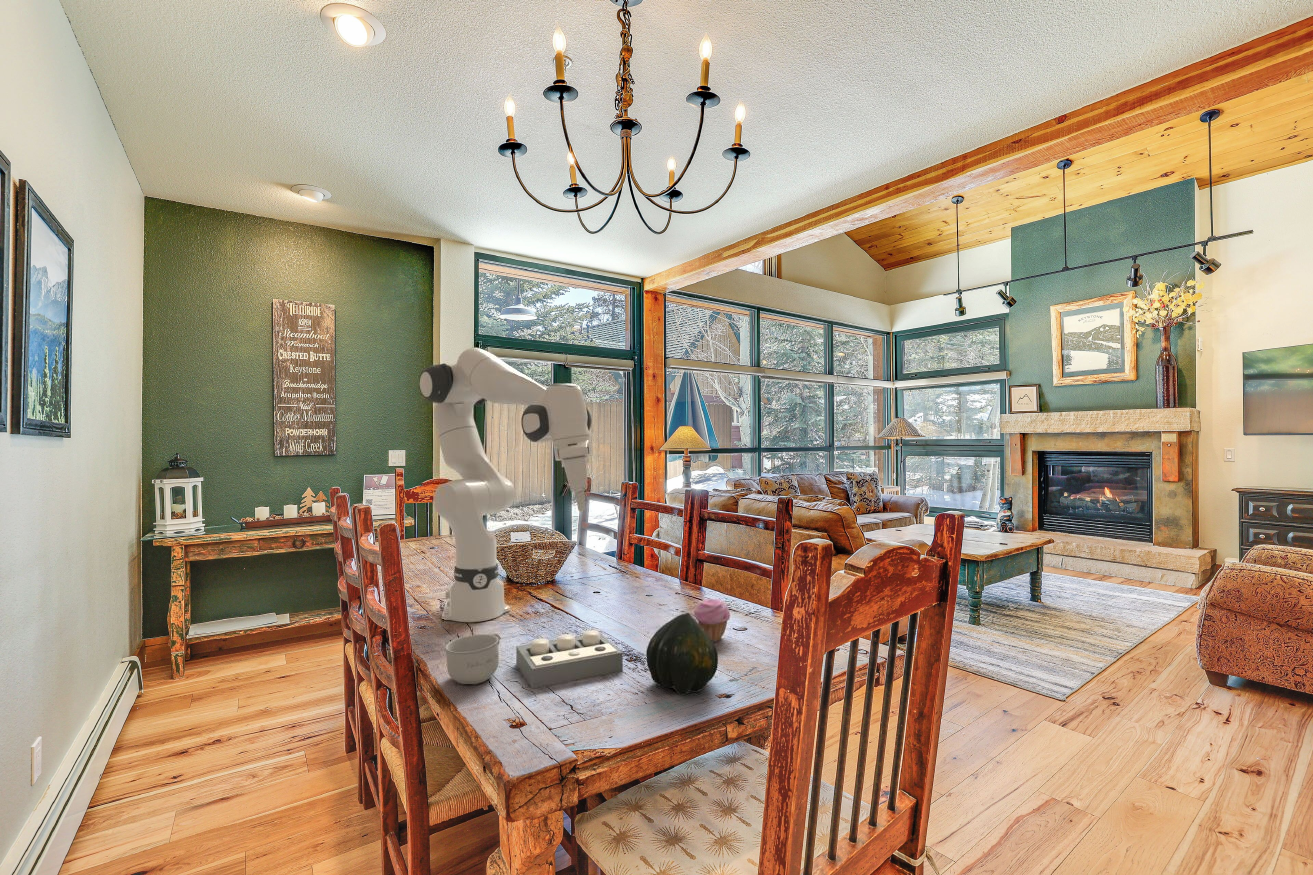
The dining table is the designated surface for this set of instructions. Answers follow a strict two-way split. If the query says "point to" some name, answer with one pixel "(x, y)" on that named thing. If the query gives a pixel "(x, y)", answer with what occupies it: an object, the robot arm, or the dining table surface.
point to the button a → (539, 647)
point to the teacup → (473, 658)
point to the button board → (568, 662)
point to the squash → (682, 655)
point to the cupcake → (712, 617)
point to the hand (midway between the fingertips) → (582, 509)
